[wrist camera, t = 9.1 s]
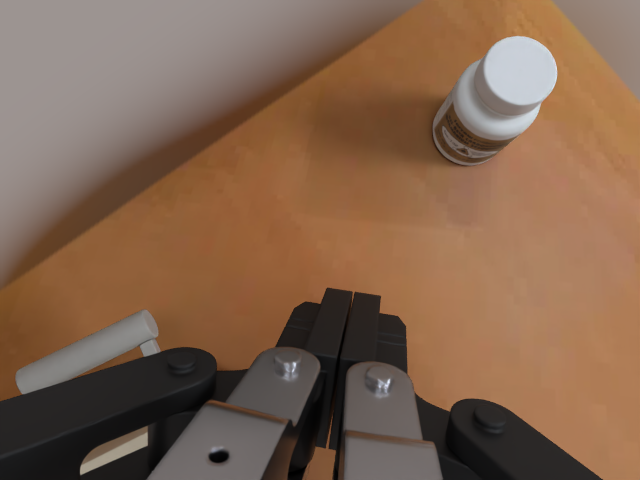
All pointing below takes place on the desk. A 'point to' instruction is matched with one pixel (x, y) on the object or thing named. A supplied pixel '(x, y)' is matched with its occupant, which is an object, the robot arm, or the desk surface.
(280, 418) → the robot arm
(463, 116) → the pill bottle
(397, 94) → the desk surface
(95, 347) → the drawer
